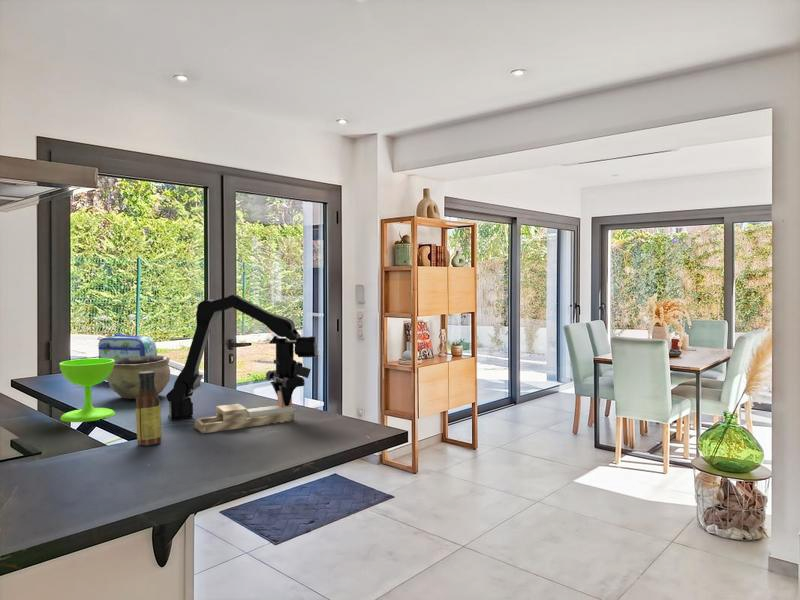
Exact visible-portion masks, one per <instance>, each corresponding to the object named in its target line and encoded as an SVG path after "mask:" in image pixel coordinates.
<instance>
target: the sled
mask: <svg viewBox="0 0 800 600" xmlns="http://www.w3.org/2000/svg"><path fill="white" fill-rule="evenodd" d="M292 398H293V395H292V396H291V400H290V403H289V406H285V404H284V401H283V398H282V394H281V391H280V390H278V396H277V405H270V406H260V407H253V408H247V418H252V417H259V416H267V415H275V414H282V413H290V412H293V405H292V404H293V401H292V400H293V399H292Z"/></svg>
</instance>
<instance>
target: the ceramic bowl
mask: <svg viewBox="0 0 800 600" xmlns="http://www.w3.org/2000/svg"><path fill="white" fill-rule="evenodd" d="M170 359H171V357H170V356H167V357H166V358H165V356H164V355H159V354H157V355H150V356H139V357H123V358H117V359H114V360H115V363H114V368H113V370H112V372H111V374H110V375H109V376H108V382H107V383H108V386H109V387H110V388H111V389H112V391H113V392H114V393H116V395H117V394H118V395H119V396H120V397H122V398H124V399H126V400H127V399H128V400H136V396H137V394H138V392H139V390H140V387H139V386H140V379H139V372H144V371H154V372H155V377H154V385H155V388H156V391H157V394H158V395H160V394H161V393H162V392H163V391H164V389H165V388H166V387H167V385H168V384H169V382H170V379H171V369H170V365H169V363H170Z"/></svg>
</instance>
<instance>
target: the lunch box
mask: <svg viewBox="0 0 800 600" xmlns="http://www.w3.org/2000/svg"><path fill="white" fill-rule="evenodd" d="M97 347H98V358H104V359H117V358H123V357H139V356H150V355H158V354H157V353H158V351H157V346H156V342H155V340H154V339H152V337H149V336H143V335H128V334H121V333H116V334H114V335H113V336H108V337H102V338H101V339H99V342H98V346H97ZM105 380H107V381H108V377H107V378H106V379H105Z"/></svg>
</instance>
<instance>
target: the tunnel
mask: <svg viewBox="0 0 800 600" xmlns="http://www.w3.org/2000/svg"><path fill="white" fill-rule="evenodd" d="M247 409H248V408H247V407H245V406H243V405H241V404H240V403H235V404H234V403H233V404H224V405H216V406H215V415H216V416H208V417H200V418H194V428H195V429H197V431H199V432H200V433H201V434H207V433H216V432H223V431H229V430H236V429H243V428H251V427H256V426H257V427H258V426H264V425H265V424H266V425H270V423H273V424H278V423H277V422H280V423H285V422H284V421H287V422H292V421H291V420H294V421H295V412H293V411H292V412H290V413H282V414H275V415H267V416H259V417H252V418H247Z"/></svg>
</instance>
